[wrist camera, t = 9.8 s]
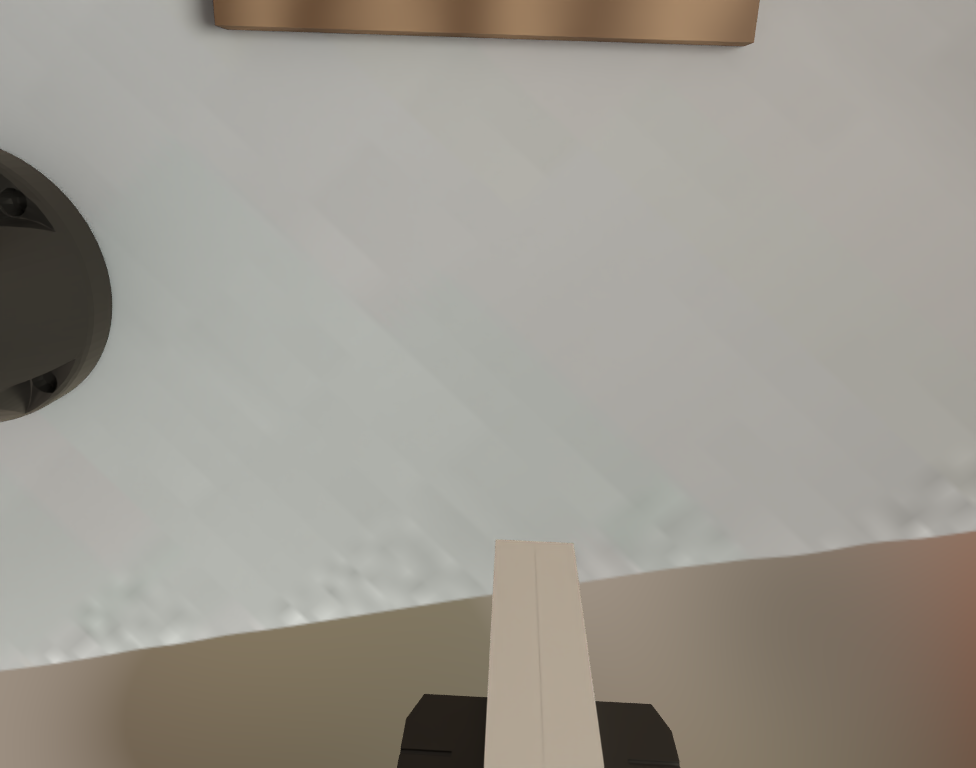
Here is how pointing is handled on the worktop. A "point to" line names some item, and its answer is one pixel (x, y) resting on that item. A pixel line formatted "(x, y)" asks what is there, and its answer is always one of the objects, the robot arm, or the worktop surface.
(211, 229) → the worktop surface
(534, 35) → the gauge board
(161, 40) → the worktop surface
